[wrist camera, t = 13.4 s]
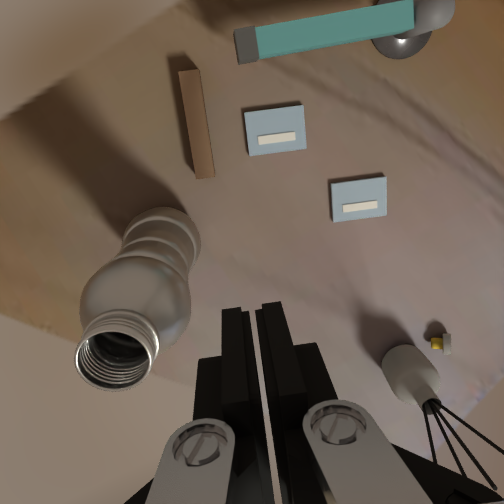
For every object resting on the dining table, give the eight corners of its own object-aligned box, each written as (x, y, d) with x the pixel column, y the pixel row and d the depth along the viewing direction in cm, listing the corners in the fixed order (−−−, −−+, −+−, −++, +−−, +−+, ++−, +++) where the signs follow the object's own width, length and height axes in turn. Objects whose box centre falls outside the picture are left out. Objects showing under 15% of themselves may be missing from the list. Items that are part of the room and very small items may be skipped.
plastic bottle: (118, 213, 38) (15, 324, 19) (189, 191, 38) (155, 283, 19) (144, 276, 40) (74, 430, 22) (212, 256, 40) (201, 395, 21)
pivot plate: (433, -17, 33) (435, -18, 33) (431, 55, 35) (433, 54, 35) (368, -9, 33) (369, -10, 33) (370, 62, 35) (371, 62, 35)
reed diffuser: (375, 395, 47) (476, 593, 28) (343, 353, 45) (429, 537, 26) (457, 346, 45) (621, 521, 26) (427, 300, 43) (584, 455, 24)
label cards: (383, 94, 36) (385, 94, 36) (385, 214, 40) (387, 215, 39) (244, 112, 36) (244, 112, 35) (258, 231, 39) (258, 232, 39)
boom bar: (418, 3, 33) (455, -15, 28) (418, 36, 34) (455, 25, 29) (232, 37, 33) (233, 25, 28) (237, 69, 34) (239, 64, 29)
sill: (199, 70, 34) (198, 68, 33) (215, 173, 37) (214, 176, 36) (179, 72, 34) (178, 71, 33) (197, 176, 37) (196, 179, 36)
